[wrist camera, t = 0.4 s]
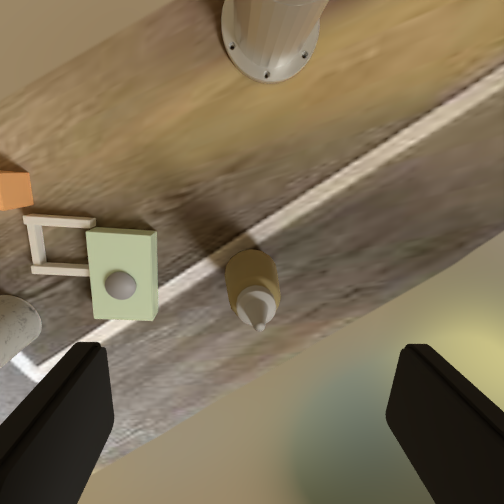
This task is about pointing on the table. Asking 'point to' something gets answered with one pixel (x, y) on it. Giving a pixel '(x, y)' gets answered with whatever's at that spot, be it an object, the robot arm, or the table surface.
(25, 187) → the matte orange cube
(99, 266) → the green plate with dome
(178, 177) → the table surface
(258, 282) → the squeeze bottle
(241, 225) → the table surface
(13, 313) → the speckled stone cylinder
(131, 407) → the table surface
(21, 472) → the robot arm
